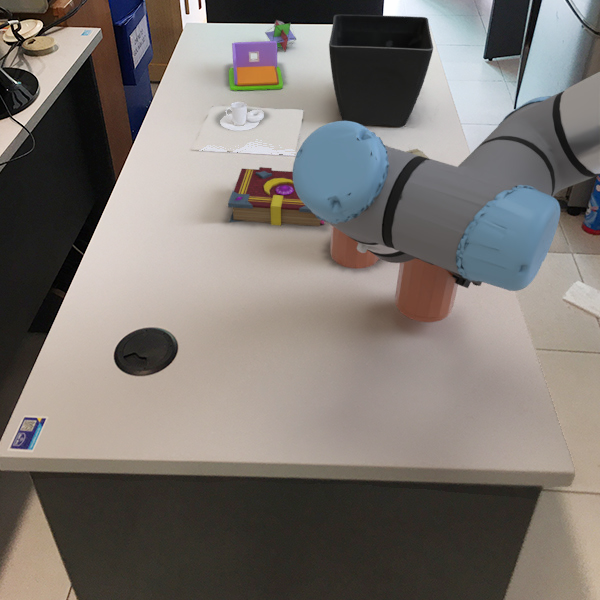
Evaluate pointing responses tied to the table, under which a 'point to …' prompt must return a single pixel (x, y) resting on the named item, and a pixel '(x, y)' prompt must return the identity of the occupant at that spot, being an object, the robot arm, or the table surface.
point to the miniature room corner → (255, 66)
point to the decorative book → (269, 199)
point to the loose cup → (424, 291)
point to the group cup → (349, 251)
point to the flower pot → (379, 66)
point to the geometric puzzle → (281, 34)
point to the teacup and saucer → (252, 121)
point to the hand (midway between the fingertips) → (440, 265)
